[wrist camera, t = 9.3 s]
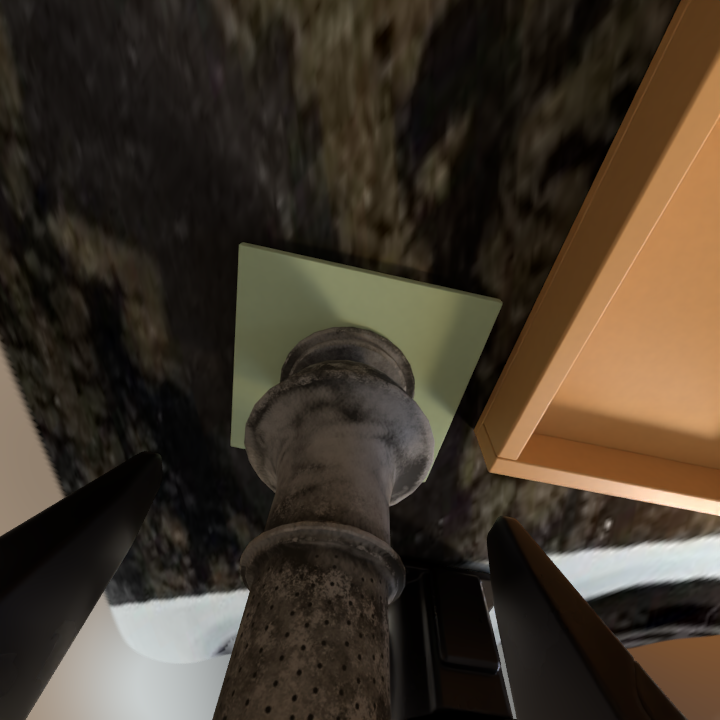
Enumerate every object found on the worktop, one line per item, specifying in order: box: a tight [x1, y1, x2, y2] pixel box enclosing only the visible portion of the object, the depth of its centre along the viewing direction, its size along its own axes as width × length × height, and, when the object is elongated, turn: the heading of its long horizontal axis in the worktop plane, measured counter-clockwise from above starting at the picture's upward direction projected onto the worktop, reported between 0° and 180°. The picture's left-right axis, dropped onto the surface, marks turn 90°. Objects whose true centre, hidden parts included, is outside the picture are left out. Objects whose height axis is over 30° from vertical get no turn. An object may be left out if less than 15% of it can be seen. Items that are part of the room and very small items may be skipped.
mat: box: [231, 242, 503, 482], centre depth 14 cm, size 9×9×1 cm
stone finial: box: [212, 327, 435, 720], centre depth 9 cm, size 6×6×12 cm
